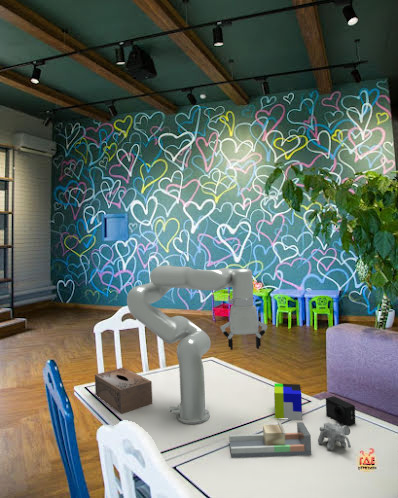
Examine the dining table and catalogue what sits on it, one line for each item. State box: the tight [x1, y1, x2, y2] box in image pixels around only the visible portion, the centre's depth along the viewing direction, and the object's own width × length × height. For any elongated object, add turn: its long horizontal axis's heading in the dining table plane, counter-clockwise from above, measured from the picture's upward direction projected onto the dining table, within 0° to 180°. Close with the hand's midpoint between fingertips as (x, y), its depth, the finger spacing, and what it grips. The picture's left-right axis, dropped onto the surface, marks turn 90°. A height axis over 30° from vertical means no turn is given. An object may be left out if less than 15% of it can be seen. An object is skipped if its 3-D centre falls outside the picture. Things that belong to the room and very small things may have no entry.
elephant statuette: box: [317, 422, 352, 451], centre depth 125 cm, size 9×12×8 cm
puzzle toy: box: [273, 383, 303, 421], centre depth 151 cm, size 10×10×10 cm
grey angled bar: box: [296, 421, 312, 452], centre depth 126 cm, size 2×9×5 cm, turn 0°
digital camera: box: [325, 395, 356, 427], centre depth 145 cm, size 10×5×7 cm, turn 25°
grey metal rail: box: [228, 432, 312, 459], centre depth 126 cm, size 25×9×3 cm, turn 90°
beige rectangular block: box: [262, 420, 287, 446], centre depth 126 cm, size 6×9×6 cm
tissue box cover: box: [94, 367, 153, 415], centre depth 171 cm, size 26×14×10 cm, turn 38°
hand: (244, 348), depth 143 cm, fingers open, 9 cm apart
